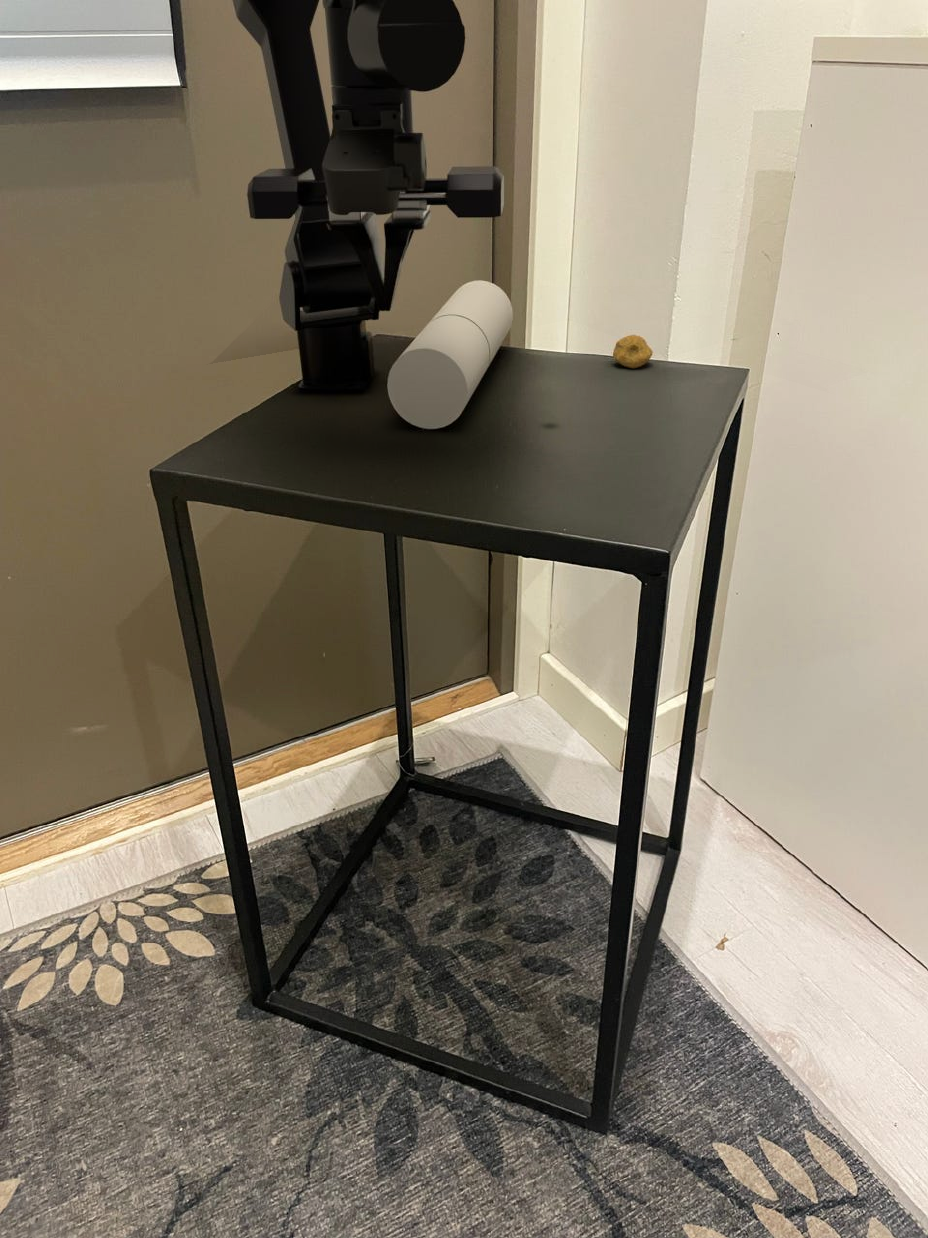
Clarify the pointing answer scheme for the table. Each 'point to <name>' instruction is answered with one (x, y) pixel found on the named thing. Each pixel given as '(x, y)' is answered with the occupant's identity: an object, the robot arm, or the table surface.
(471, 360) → the cylindrical container
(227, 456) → the table surface
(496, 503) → the table surface
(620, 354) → the tan lumpy rounded lump
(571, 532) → the table surface
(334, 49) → the robot arm
